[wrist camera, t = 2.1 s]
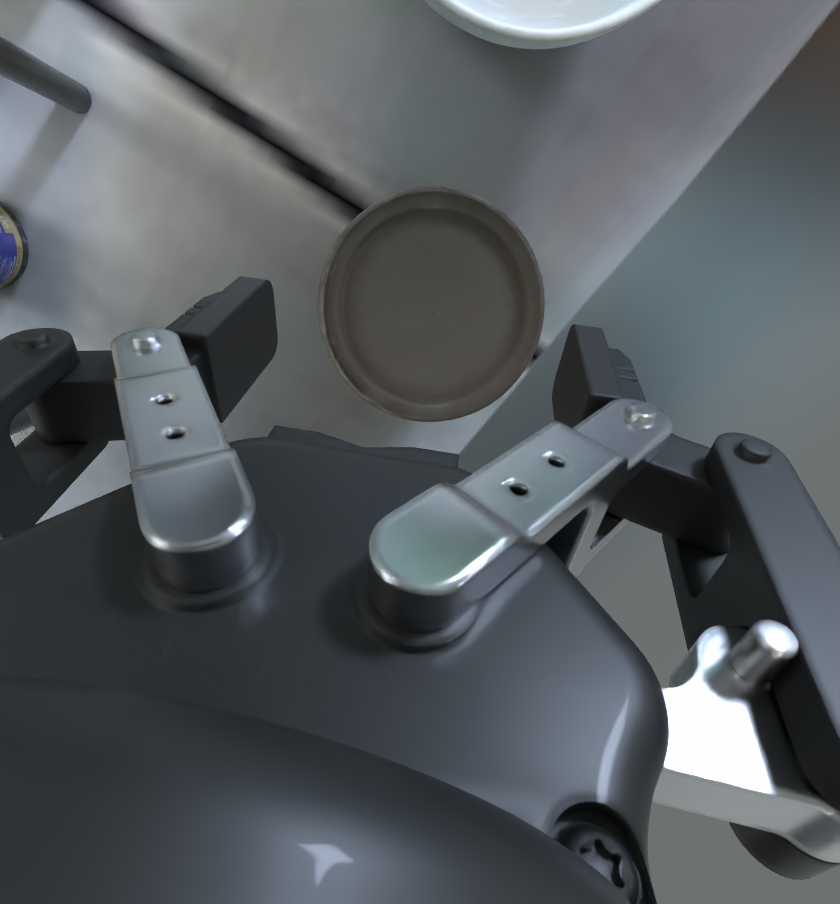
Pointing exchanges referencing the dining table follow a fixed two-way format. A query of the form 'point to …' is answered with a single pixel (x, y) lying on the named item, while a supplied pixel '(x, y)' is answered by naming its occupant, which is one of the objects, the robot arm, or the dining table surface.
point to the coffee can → (431, 304)
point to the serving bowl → (540, 19)
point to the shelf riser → (54, 86)
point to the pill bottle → (11, 248)
